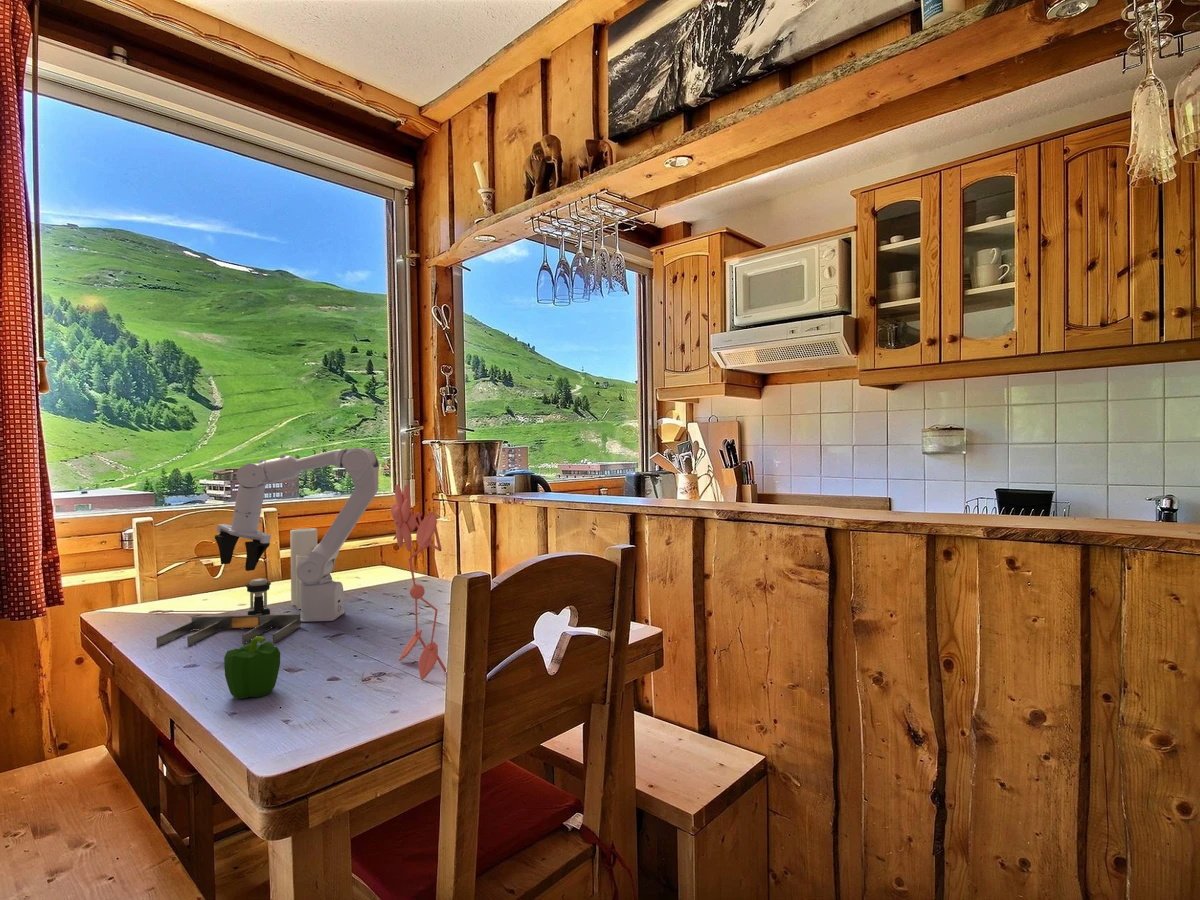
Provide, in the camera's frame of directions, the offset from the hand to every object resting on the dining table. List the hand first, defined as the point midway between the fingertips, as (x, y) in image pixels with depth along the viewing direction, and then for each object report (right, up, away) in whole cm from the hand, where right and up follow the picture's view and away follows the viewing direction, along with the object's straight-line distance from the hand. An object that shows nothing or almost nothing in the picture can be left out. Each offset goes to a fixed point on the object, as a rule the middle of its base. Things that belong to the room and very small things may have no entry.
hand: (237, 566), depth 148 cm
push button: (+4, -14, 0) cm, 14 cm away
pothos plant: (+52, -13, -36) cm, 65 cm away
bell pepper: (+30, -13, -45) cm, 55 cm away
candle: (+10, -13, +16) cm, 23 cm away
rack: (+6, -13, -12) cm, 19 cm away
